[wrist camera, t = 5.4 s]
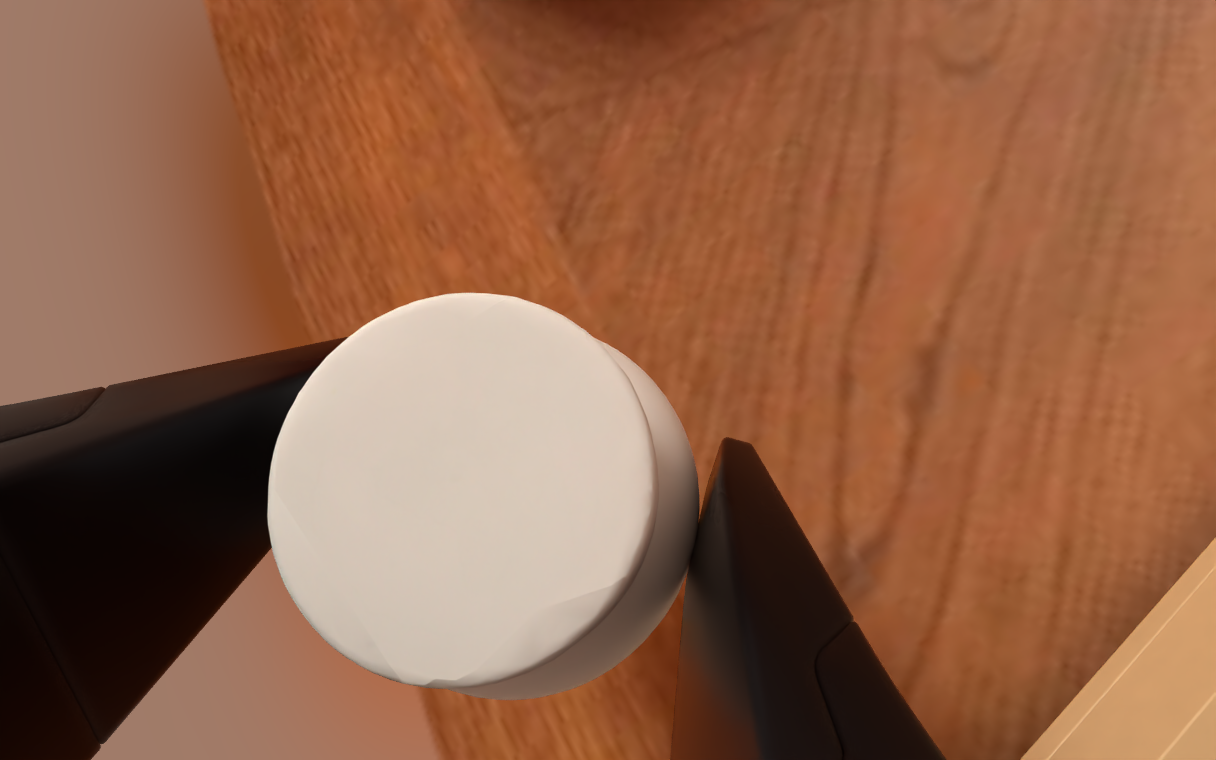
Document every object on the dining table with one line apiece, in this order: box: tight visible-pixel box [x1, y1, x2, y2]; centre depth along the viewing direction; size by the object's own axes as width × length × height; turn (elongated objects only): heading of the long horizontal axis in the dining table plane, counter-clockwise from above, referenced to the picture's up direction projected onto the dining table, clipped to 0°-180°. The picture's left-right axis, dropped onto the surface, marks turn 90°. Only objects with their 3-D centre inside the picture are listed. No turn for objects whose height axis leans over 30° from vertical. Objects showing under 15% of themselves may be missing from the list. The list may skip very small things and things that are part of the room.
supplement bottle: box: [267, 293, 699, 700], centre depth 11 cm, size 5×5×10 cm
